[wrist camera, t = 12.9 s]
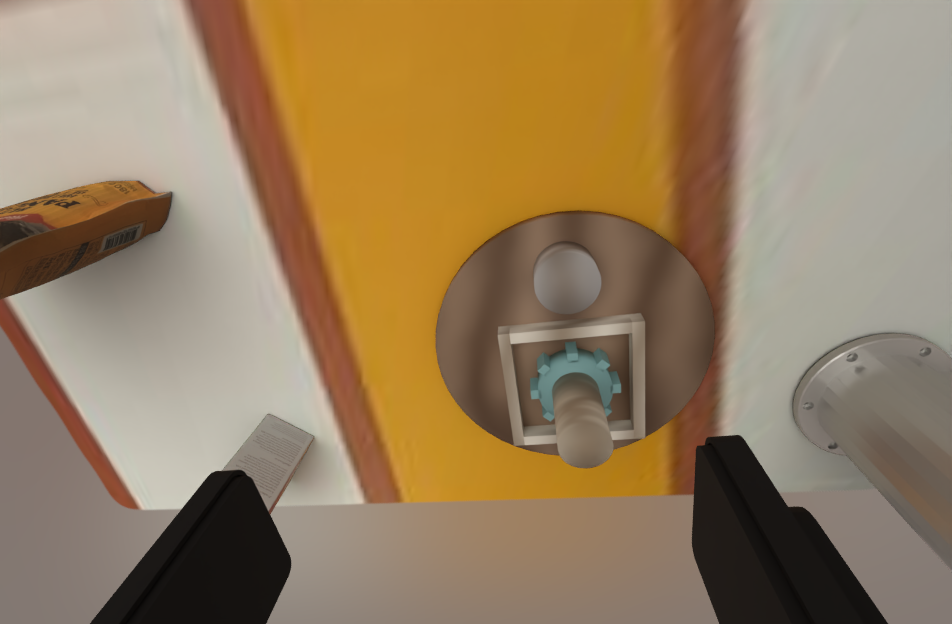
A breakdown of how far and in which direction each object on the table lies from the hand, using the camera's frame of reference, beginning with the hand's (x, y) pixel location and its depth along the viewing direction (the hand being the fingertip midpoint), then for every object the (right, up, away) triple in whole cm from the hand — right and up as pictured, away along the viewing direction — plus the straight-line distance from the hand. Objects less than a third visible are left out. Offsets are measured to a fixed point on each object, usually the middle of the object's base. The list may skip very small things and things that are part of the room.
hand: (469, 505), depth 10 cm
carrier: (+9, +1, +32) cm, 34 cm away
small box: (-21, -11, +41) cm, 48 cm away
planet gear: (+9, -2, +32) cm, 34 cm away
